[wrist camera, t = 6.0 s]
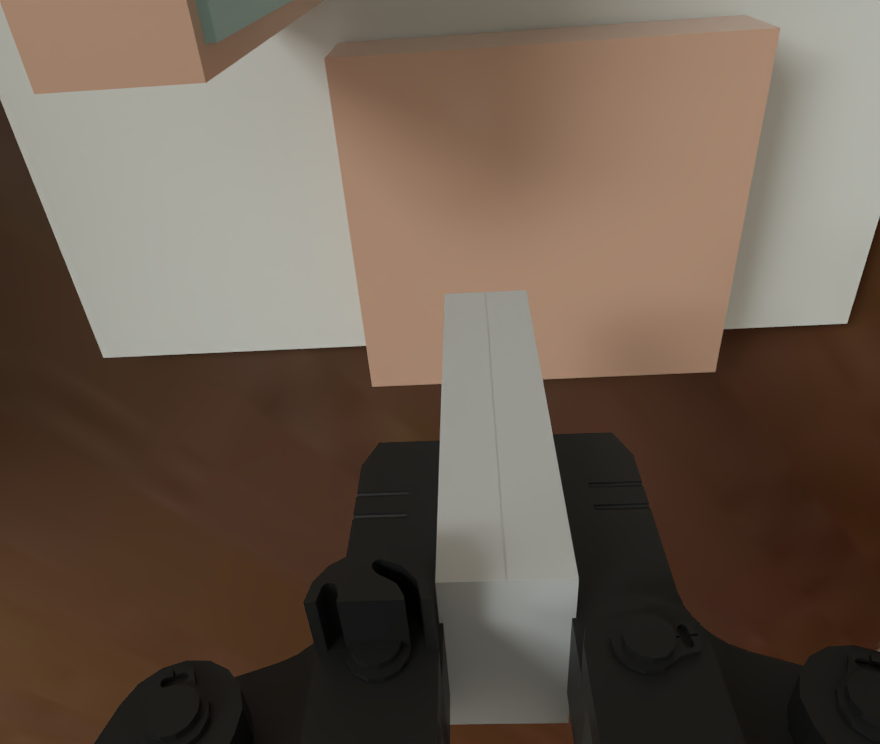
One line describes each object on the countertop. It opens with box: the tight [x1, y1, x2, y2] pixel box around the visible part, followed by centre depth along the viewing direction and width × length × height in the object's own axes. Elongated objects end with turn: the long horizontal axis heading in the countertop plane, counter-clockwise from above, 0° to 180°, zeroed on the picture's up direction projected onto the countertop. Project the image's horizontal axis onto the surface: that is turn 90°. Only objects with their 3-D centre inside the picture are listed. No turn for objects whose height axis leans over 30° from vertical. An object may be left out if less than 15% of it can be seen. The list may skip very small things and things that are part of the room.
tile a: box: [324, 15, 780, 387], centre depth 19 cm, size 2×9×10 cm
